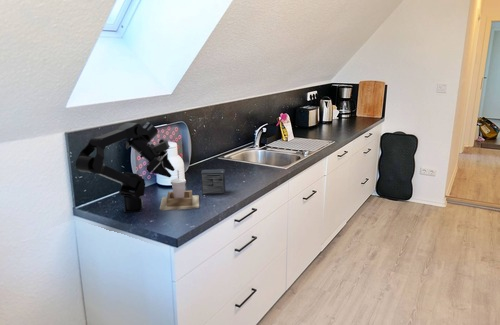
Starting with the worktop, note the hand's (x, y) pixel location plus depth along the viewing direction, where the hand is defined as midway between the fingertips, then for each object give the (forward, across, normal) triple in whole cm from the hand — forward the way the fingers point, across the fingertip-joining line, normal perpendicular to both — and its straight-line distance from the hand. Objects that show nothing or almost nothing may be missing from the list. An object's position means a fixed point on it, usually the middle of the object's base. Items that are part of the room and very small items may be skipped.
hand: (172, 173), depth 171 cm
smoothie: (+11, 0, +8) cm, 13 cm away
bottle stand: (+11, 0, +8) cm, 14 cm away
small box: (+21, +14, -2) cm, 25 cm away
